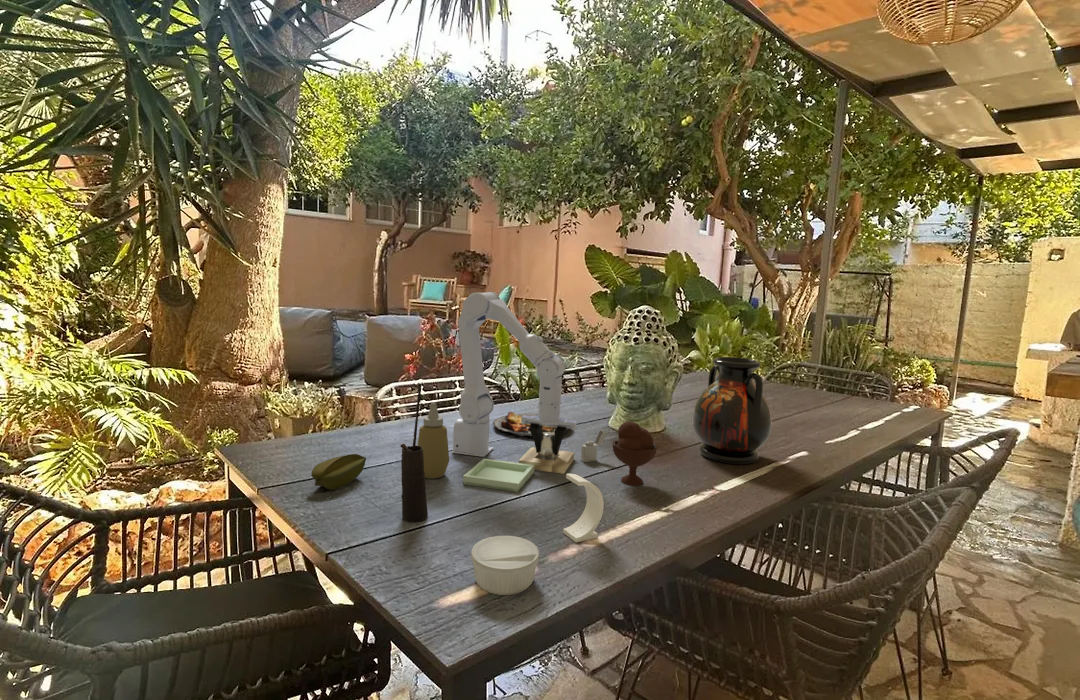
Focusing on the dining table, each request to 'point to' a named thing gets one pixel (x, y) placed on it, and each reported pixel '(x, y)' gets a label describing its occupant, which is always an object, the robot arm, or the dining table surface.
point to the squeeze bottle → (434, 444)
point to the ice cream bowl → (633, 450)
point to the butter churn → (413, 478)
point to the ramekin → (504, 564)
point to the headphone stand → (586, 512)
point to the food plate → (518, 424)
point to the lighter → (592, 447)
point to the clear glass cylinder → (547, 446)
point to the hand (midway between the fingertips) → (547, 452)
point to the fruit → (338, 471)
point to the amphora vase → (732, 413)
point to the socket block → (548, 461)
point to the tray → (499, 475)
